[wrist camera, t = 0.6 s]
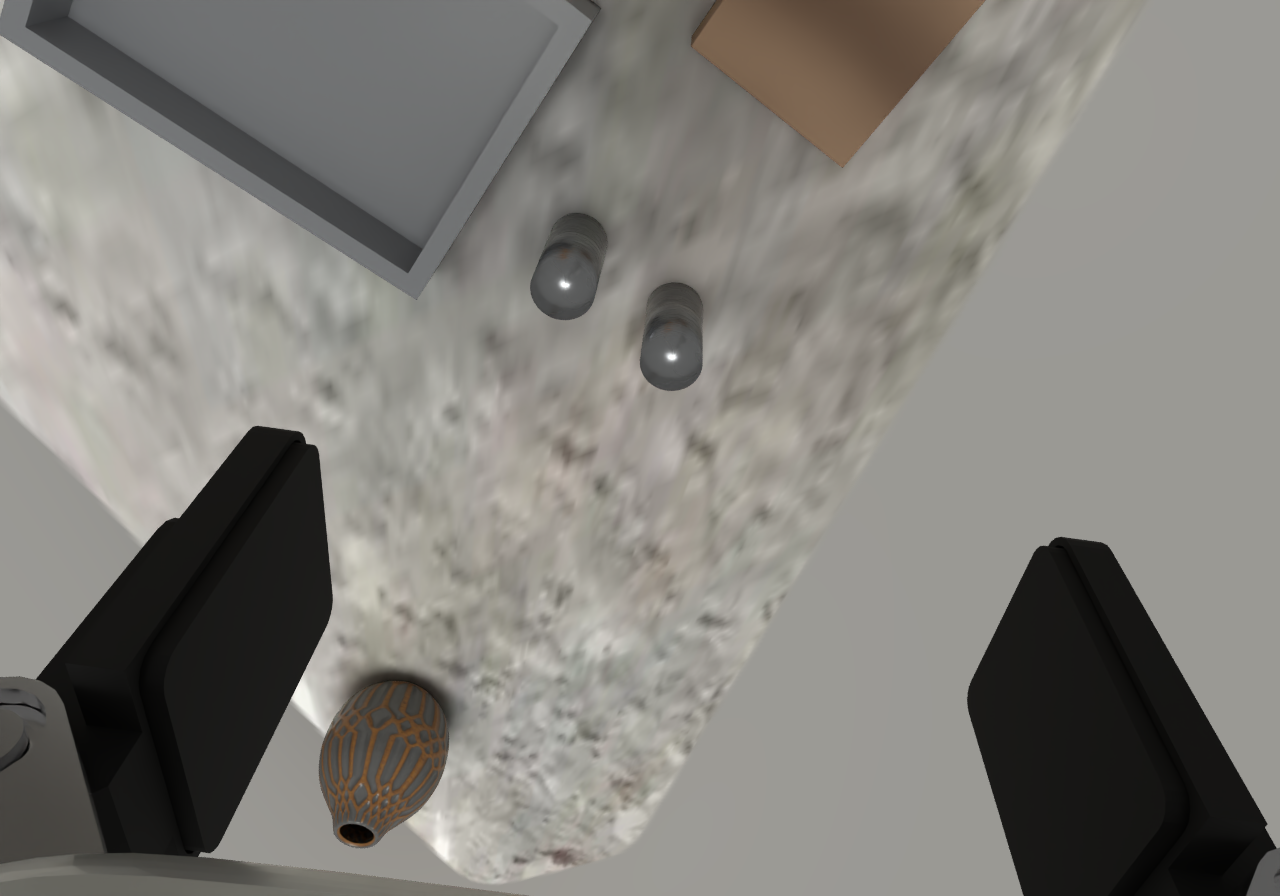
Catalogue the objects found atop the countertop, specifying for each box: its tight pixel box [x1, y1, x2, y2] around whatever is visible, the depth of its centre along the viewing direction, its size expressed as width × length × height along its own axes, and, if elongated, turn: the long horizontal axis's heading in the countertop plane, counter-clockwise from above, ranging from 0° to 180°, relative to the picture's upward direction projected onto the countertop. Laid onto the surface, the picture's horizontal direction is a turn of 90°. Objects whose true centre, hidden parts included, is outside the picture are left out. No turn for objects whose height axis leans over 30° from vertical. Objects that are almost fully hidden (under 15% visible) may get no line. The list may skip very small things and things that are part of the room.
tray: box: [0, 0, 601, 300], centre depth 32 cm, size 13×17×3 cm
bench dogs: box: [530, 214, 703, 391], centre depth 36 cm, size 2×7×5 cm, turn 54°
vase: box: [319, 681, 449, 848], centre depth 50 cm, size 7×7×9 cm
